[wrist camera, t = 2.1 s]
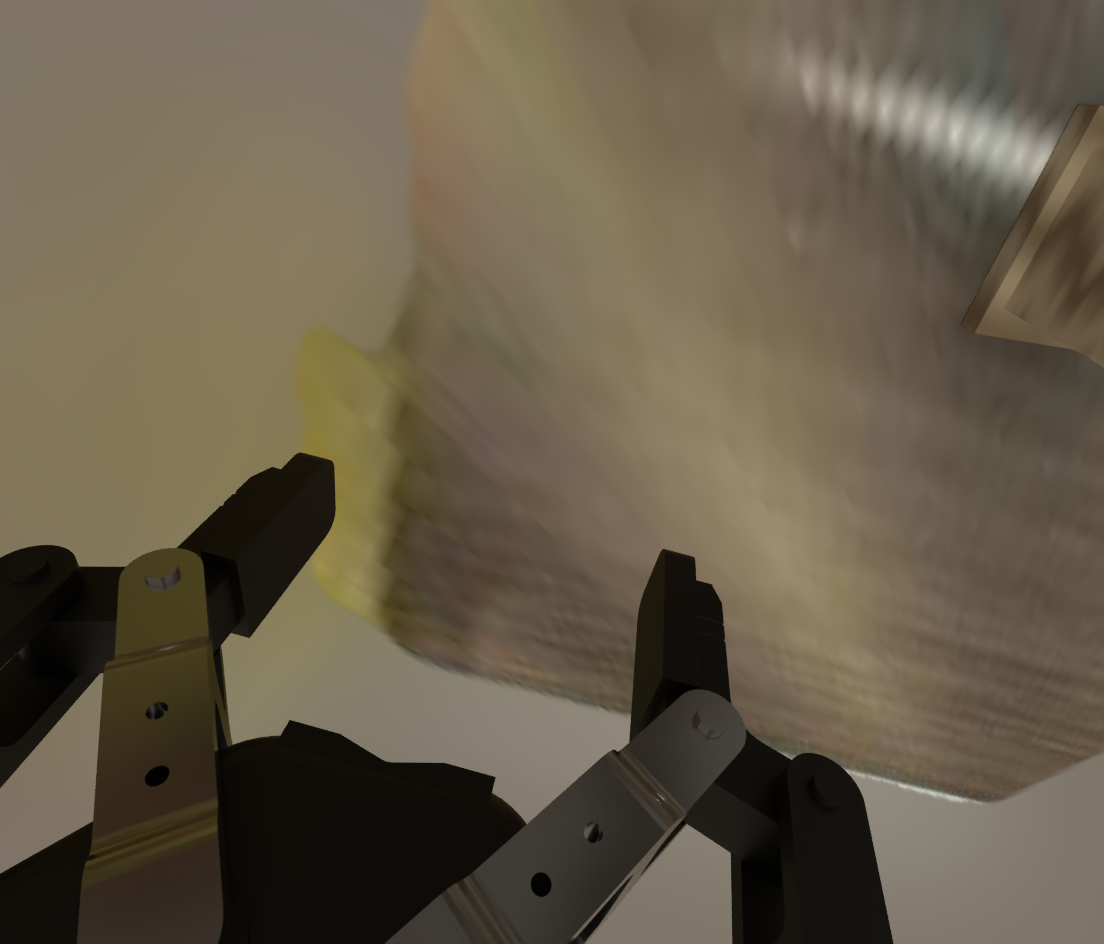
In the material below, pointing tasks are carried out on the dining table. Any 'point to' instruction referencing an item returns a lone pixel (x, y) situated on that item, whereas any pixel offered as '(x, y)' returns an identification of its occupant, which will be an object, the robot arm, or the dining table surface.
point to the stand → (1054, 252)
